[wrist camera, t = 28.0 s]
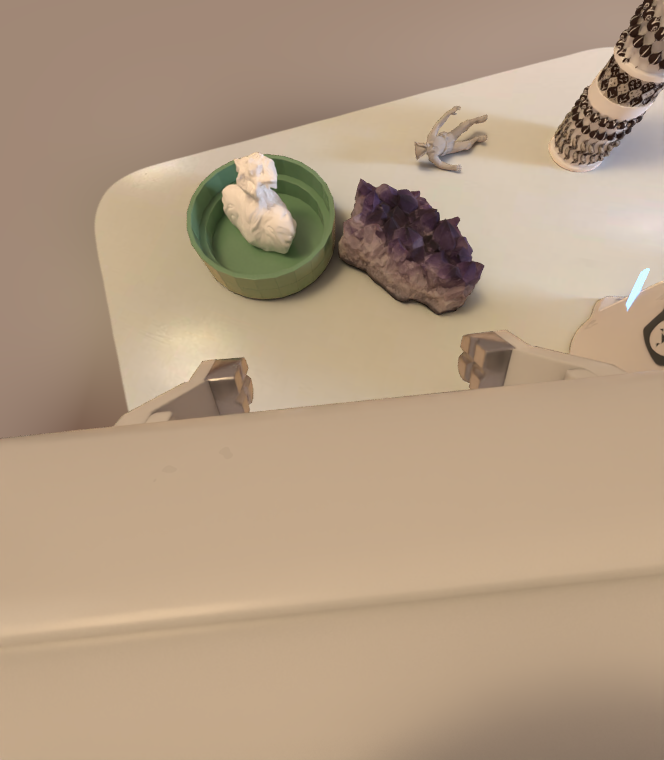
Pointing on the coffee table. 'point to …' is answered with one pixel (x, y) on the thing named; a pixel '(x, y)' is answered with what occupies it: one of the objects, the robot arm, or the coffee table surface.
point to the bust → (259, 205)
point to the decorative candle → (615, 94)
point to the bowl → (252, 264)
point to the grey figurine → (448, 140)
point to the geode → (409, 248)
